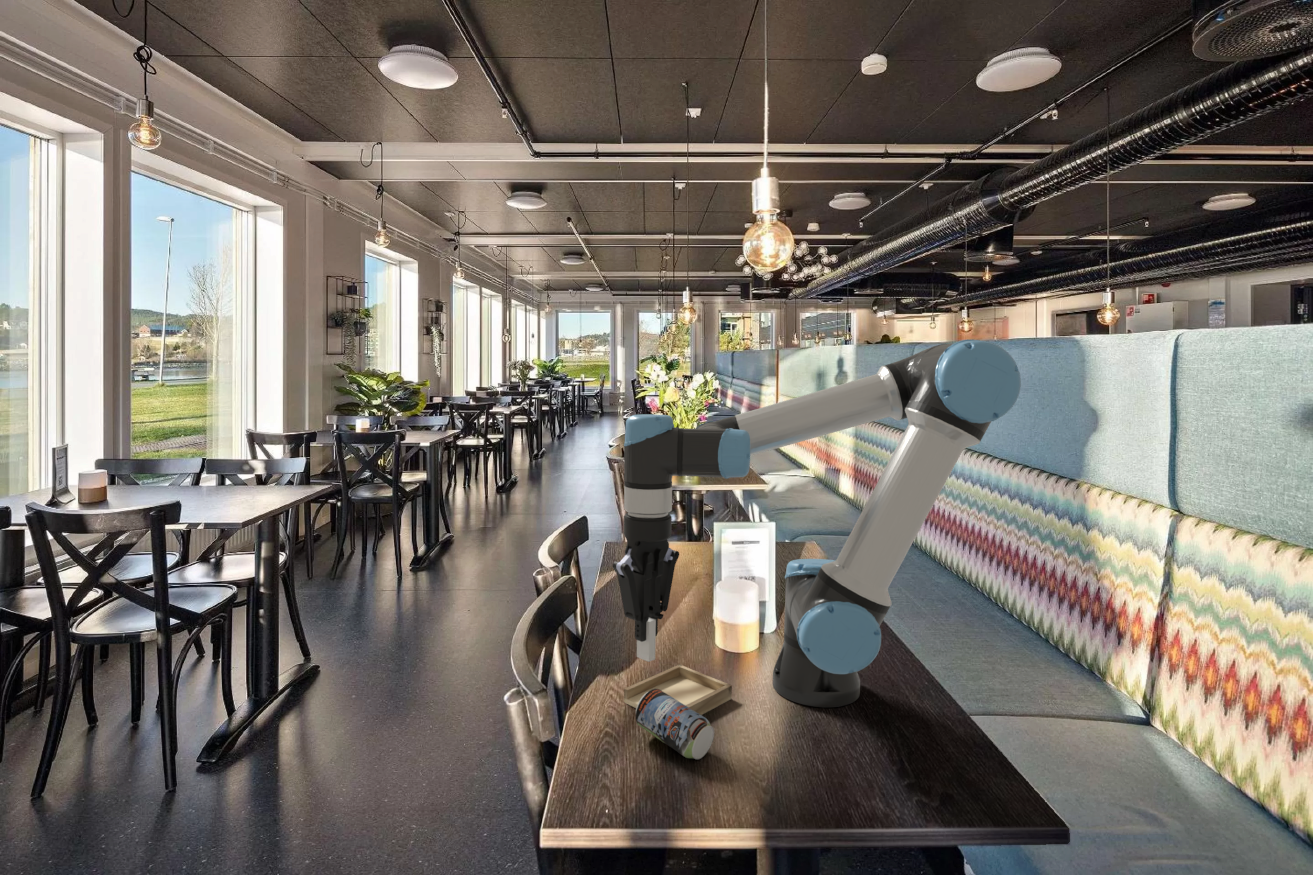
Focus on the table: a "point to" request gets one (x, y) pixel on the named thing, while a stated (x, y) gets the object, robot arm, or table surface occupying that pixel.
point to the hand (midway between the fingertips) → (645, 657)
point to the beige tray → (683, 689)
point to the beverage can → (674, 724)
